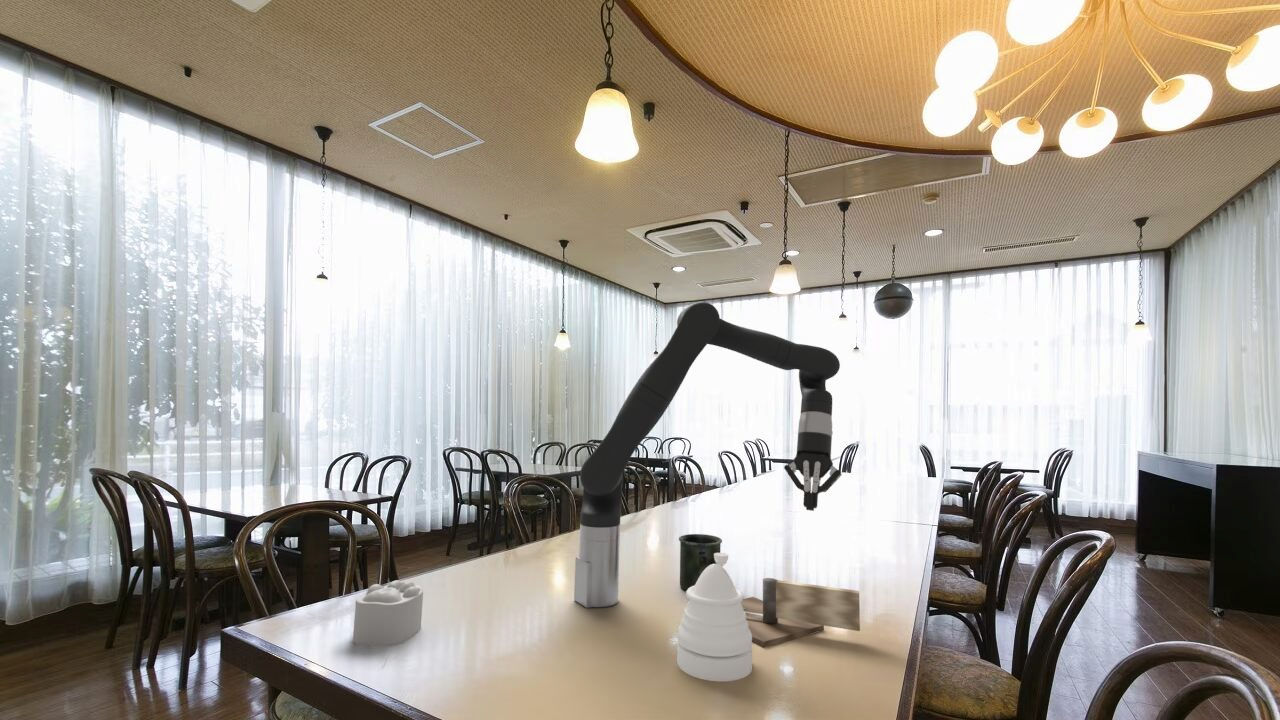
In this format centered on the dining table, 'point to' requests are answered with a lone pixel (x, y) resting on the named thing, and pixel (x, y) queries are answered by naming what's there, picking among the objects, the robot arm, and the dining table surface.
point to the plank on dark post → (809, 604)
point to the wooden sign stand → (774, 626)
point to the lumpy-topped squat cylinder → (388, 614)
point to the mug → (696, 556)
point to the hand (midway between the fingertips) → (810, 510)
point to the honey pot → (715, 628)
